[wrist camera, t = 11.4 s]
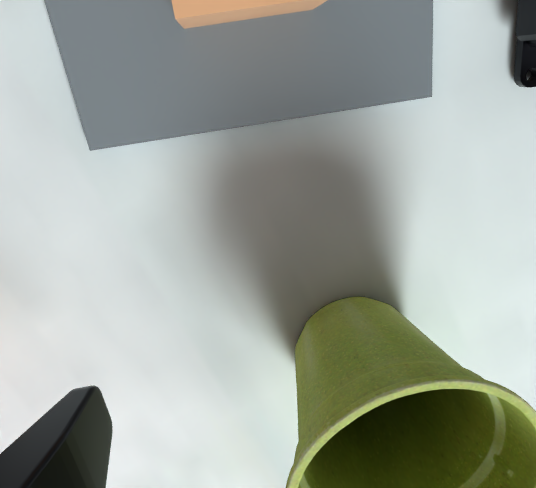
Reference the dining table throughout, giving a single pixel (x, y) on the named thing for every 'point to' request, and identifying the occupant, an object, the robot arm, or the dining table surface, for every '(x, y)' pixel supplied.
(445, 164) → the dining table surface
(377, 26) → the slate mat
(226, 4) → the clay brick
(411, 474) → the plant pot
